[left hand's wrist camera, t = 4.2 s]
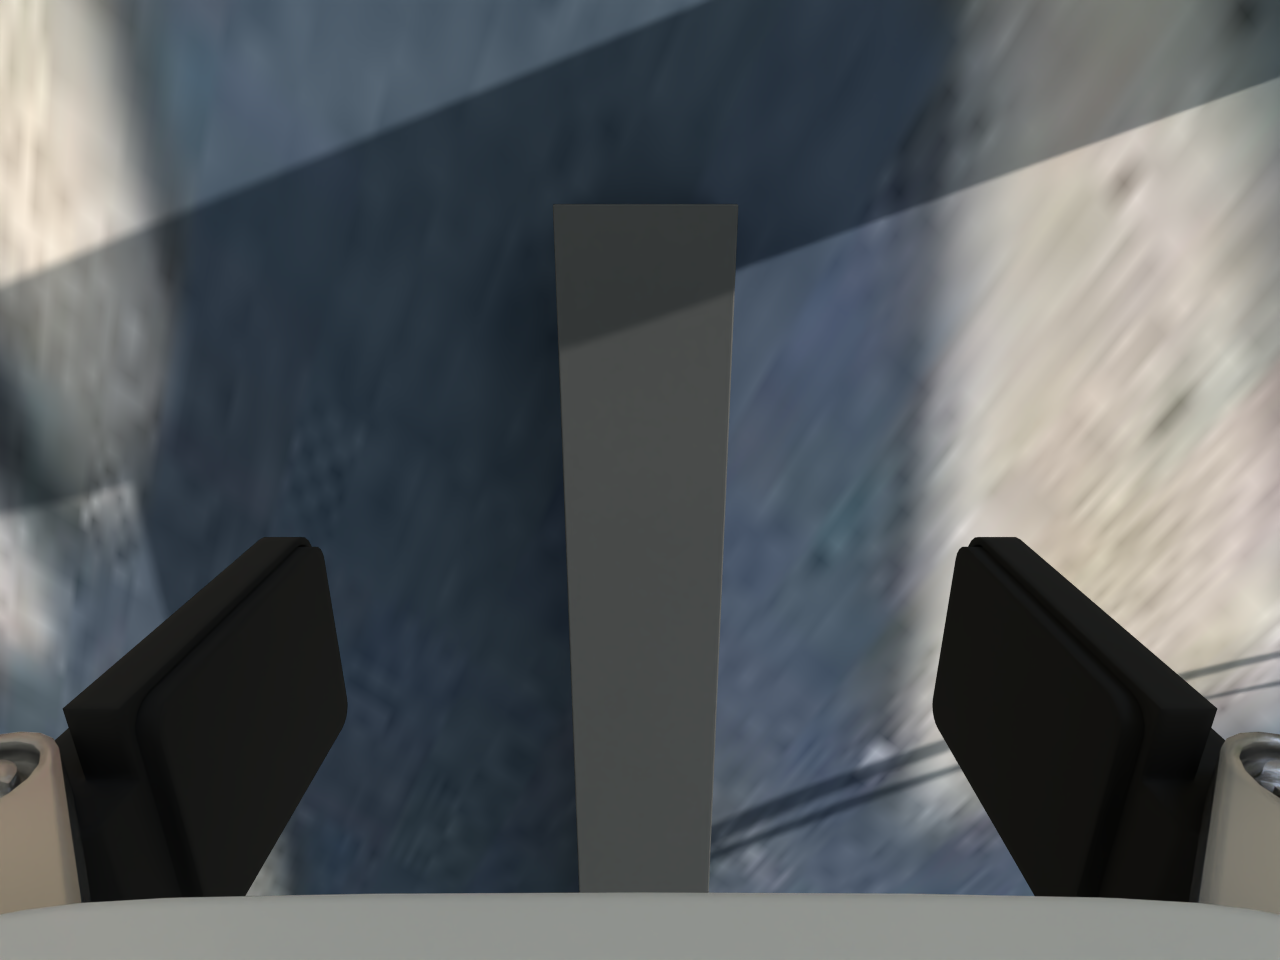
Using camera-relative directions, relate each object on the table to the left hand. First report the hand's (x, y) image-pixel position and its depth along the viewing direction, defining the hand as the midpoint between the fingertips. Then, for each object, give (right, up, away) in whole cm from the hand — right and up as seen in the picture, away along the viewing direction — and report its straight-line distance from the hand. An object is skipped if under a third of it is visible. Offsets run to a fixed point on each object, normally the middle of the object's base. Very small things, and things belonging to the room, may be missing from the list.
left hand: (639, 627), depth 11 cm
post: (0, -22, +31) cm, 38 cm away
